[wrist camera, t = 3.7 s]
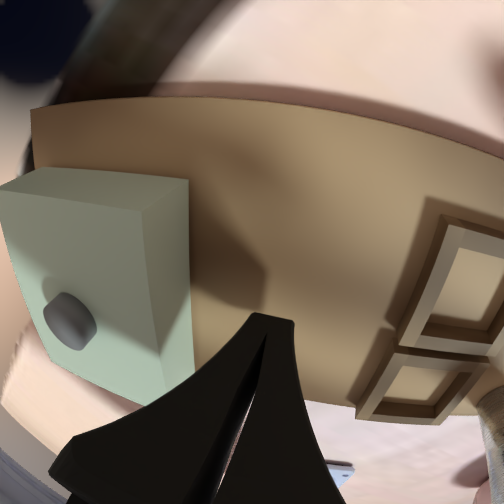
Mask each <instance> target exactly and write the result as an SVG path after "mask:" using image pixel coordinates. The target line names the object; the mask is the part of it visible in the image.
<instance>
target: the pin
mask: <svg viewBox="0 0 504 504" xmlns="http://www.w3.org/2000/svg"><path fill="white" fill-rule="evenodd" d="M477 412H478V417H479V421H480V426H481V431H482V436H483V441H484V447H485V453H486V459H487V466H488V473H489V482H490V491H491V503H492V504H504V386H502V387H499V388H497V389H495V390H493V391H491V392H490V393H488V394H487V395H485V396H484V397H483V398H482V399H481V400H480V401H479V403H478V405H477Z"/></svg>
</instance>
